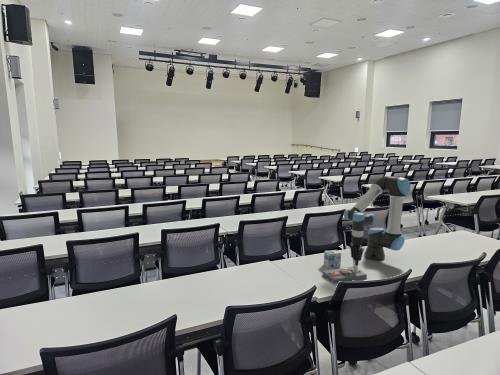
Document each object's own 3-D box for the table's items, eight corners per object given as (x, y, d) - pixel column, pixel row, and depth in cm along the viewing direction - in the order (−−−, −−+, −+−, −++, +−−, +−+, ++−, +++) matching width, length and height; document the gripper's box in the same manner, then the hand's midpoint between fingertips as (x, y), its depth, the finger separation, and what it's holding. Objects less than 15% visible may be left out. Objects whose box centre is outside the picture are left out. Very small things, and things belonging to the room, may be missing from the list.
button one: (355, 271, 226) (356, 267, 226) (360, 274, 222) (360, 270, 221) (349, 272, 225) (350, 268, 224) (354, 275, 220) (354, 271, 220)
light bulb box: (327, 268, 235) (328, 254, 233) (323, 264, 241) (323, 250, 239) (340, 266, 237) (341, 252, 236) (336, 263, 244) (336, 249, 242)
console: (353, 270, 231) (353, 266, 231) (366, 278, 218) (366, 274, 218) (322, 275, 223) (323, 270, 223) (334, 283, 210) (334, 279, 210)
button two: (345, 270, 223) (345, 266, 223) (350, 273, 219) (350, 269, 218) (339, 271, 222) (339, 267, 221) (343, 274, 217) (344, 270, 217)
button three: (334, 274, 221) (335, 270, 220) (339, 278, 216) (339, 273, 216) (328, 275, 219) (328, 271, 219) (332, 279, 215) (332, 274, 214)
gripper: (346, 233, 224) (344, 265, 227) (358, 239, 211) (356, 273, 215) (356, 232, 226) (354, 264, 230) (368, 238, 214) (366, 272, 218)
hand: (355, 268), depth 223 cm, fingers closed
